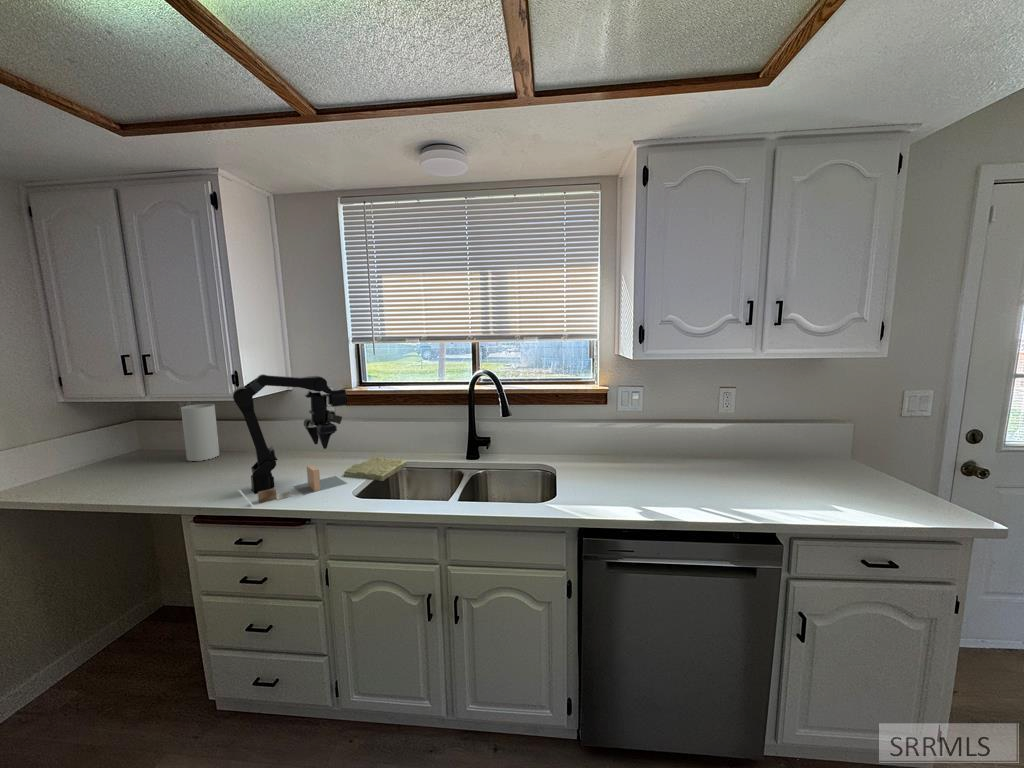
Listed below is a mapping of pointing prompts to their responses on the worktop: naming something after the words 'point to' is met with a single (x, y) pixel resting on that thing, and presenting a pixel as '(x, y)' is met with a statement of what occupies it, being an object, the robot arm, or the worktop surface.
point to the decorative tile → (376, 468)
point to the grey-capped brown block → (272, 495)
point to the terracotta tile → (313, 478)
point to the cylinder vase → (200, 432)
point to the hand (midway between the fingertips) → (320, 446)
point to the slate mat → (321, 485)
